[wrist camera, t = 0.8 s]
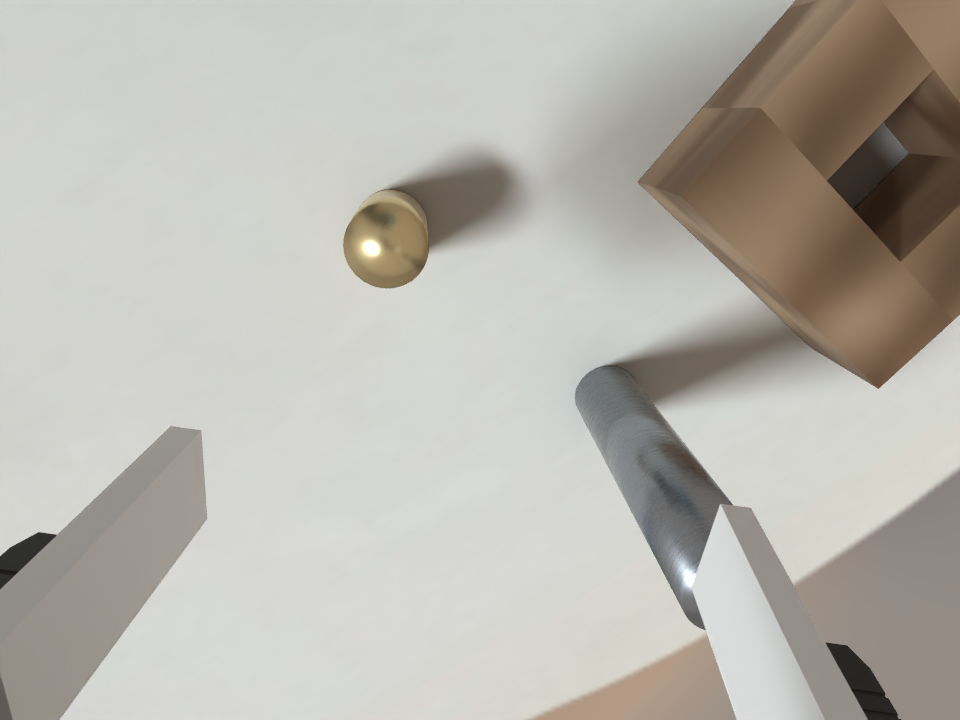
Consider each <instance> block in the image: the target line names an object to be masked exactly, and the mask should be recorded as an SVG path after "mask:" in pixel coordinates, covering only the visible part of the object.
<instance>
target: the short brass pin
mask: <svg viewBox="0 0 960 720" xmlns="http://www.w3.org/2000/svg"><path fill="white" fill-rule="evenodd" d="M343 247H344V254H345V258H346V260H347V263H348V265H349V267H350V268H351V269H352V271H353V272H354V273H355V274H356V275H357V276H358V277H359V278H360V279H361V280H363V281H364V282H366V283H368V284H370V285H373V286H375V287H380V288H395V287H400V286H403V285H405V284H407V283H409V282H410V281H412V280H413V279H414V278H416V277H417V276H418V275H419V273H420V272H421V271H422V269H423V267H424V266H425V263H426V261H427V257H428V251H429V245H428V226H427V219H426V215H425V213H424V211H423V209H422V207H421V206H420V204H419V203H418V202H417V201H416V200H415V199H414V198H413V197H411V196H410V195H408V194H406V193H404V192H401V191H397V190H383V191H379V192H376V193H374V194H372V195H371V196H369V197H368V198H367V199H366V200H365V201H364V202H363V203H362V205H361V206H360V208H359V209H358V211H357V212H356V214H355V215H354V217H353V218H352V220H351V222H350V223H349V225H348V227H347V229H346V232H345V235H344V243H343Z"/></svg>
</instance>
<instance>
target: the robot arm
mask: <svg viewBox="0 0 960 720" xmlns="http://www.w3.org/2000/svg"><path fill="white" fill-rule="evenodd" d="M206 520H207V510H206V495H205V480H204V465H203V450H202V435H201V430H194V429H187V428H180V427H173V426H171V427H170V428H169V429H168V430H167V431H166V432H164V433H163V434H162V435H161V436H160V437H159V438H158V439H157V440H156V441H155V442H154V443H153V444H152V445H151V446H150V447H149V448H148V449H147V450H146V451H145V452H144V453H143V454H141V455H140V456H139V457H138V458H137V459H136V460H135V461H134V462H133V463H132V464H131V465H130V466H129V467H128V468H127V469H126V470H125V471H124V472H123V473H122V474H121V475H120V476H118V477H117V478H116V479H115V480H114V481H113V482H112V483H111V484H110V485H109V486H108V487H107V488H106V489H105V490H104V491H103V492H102V493H101V494H100V495H99V496H98V497H96V498H95V499H94V500H93V501H92V502H91V503H90V504H89V505H88V506H87V507H86V508H85V509H84V510H83V511H82V512H81V513H80V514H79V515H78V516H77V517H76V518H75V519H73V520H72V521H71V522H70V523H69V524H68V525H67V526H66V527H65V528H64V529H63V530H62V531H61V532H60V533H59V534H58V535H54V534H47V533H40V532H38V533H36V534H35V535H33V536H31V537H29V538H27V539H25V540H23V541H22V542H20V543H18V544H16V545H14V546H12V547H10V548H9V549H8V550H7V551H6V552H5V553H3V554H2V555H1V556H0V720H60V718H61V717H62V715H63V714H64V713H65V711H66V710H67V709H68V707H69V706H70V705H71V703H72V702H73V700H74V699H75V698H76V696H77V695H78V694H79V692H80V691H81V690H82V688H83V687H84V686H85V684H86V683H87V681H88V680H89V679H90V677H91V676H92V675H93V673H94V672H95V671H96V669H97V668H98V666H99V665H100V664H101V662H102V661H103V660H104V658H105V657H106V656H107V654H108V653H109V651H110V650H111V649H112V647H113V646H114V645H115V643H116V642H117V641H118V639H119V638H120V637H121V635H122V634H123V632H124V631H125V630H126V628H127V627H128V626H129V624H130V623H131V622H132V620H133V619H134V617H135V616H136V615H137V613H138V612H139V611H140V609H141V608H142V607H143V605H144V604H145V603H146V601H147V600H148V598H149V597H150V596H151V594H152V593H153V592H154V590H155V589H156V588H157V586H158V585H159V583H160V582H161V581H162V579H163V578H164V577H165V575H166V574H167V573H168V571H169V570H170V568H171V567H172V566H173V564H174V563H175V562H176V560H177V559H178V558H179V556H180V555H181V554H182V552H183V551H184V549H185V548H186V547H187V545H188V544H189V543H190V541H191V540H192V539H193V537H194V536H195V534H196V533H197V532H198V530H199V529H200V528H201V526H202V525H203V524H204V522H205V521H206ZM691 588H692V591H693V594H694V597H695V600H696V603H697V606H698V609H699V611H700V614H701V617H702V620H703V623H704V626H705V629H706V632H707V635H708V638H709V640H710V643H711V646H712V649H713V652H714V655H715V658H716V661H717V664H718V666H719V669H720V672H721V675H722V678H723V681H724V684H725V687H726V690H727V692H728V695H729V698H730V701H731V704H732V707H733V710H734V713H735V716H736V719H737V720H901V719H898V717H897V715H898V714H897V712H896V710H895V709H894V707H893V706H892V704H891V702H890V700H889V699H888V698H886V697H885V692H884V691H883V689H882V687H881V686H880V684H879V682H878V681H877V679H876V677H875V676H874V674H873V673H872V671H871V669H870V668H869V667H868V666H867V665H866V664H865V663H864V662H863V661H862V660H861V659H860V658H859V657H858V656H857V655H856V654H855V653H854V652H853V651H852V650H851V649H850V648H849V647H848V646H846V645H839V644H831V643H825V641H824V640H823V638H822V636H821V634H820V632H819V631H818V629H817V627H816V625H815V623H814V622H813V620H812V618H811V616H810V614H809V613H808V611H807V609H806V607H805V605H804V604H803V602H802V600H801V598H800V596H799V594H798V593H797V591H796V589H795V587H794V585H793V584H792V582H791V580H790V578H789V576H788V575H787V573H786V571H785V569H784V567H783V565H782V564H781V562H780V560H779V558H778V556H777V555H776V553H775V551H774V549H773V547H772V546H771V544H770V542H769V540H768V538H767V537H766V535H765V533H764V531H763V529H762V528H761V526H760V524H759V522H758V520H757V518H756V517H755V515H754V513H753V511H752V509H751V508H747V507H740V506H733V505H726V504H720V506H719V509H718V512H717V515H716V518H715V520H714V523H713V526H712V529H711V532H710V535H709V538H708V541H707V543H706V546H705V549H704V552H703V555H702V558H701V561H700V564H699V566H698V569H697V572H696V575H695V578H694V581H693V584H692V587H691Z"/></svg>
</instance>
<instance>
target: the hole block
mask: <svg viewBox="0 0 960 720" xmlns="http://www.w3.org/2000/svg"><path fill="white" fill-rule="evenodd" d="M883 122H884V123H885V125H886V126H887V127H888V128H889V129H890V131H891V132H892V133H893V134H894V135H895V137H896V138H897V139H898V140H899V141H900V143H901V144H902V145H903V146H904V147H905V149H906V150H907V151H908V152H909V154H908V155H907V156H906V157H905V158H904V159H903V160H902V161H901V162H900V163H899V164H898V165H897V167H896V168H895V169H894V170H893V171H892V172H891V173H890V174H889V175H888V176H887V177H886V178H885V179H884V180H883V181H882V182H881V183H880V184H879V185H878V186H877V187H876V188H875V189H874V190H873V191H872V192H871V193H870V194H869V195H868V196H867V197H866V198H865V199H864V200H863V201H862V202H861V203H860V204H859V205H858V206H857V207H856V208H855V209H854V210H853V209H852V208H851V207H850V206H849V205H848V204H847V203H846V201H845V200H844V199H843V198H842V197H841V196H840V195H839V194H838V193H837V192H836V190H835V189H834V188H833V187H832V186H831V185H830V184H829V183H828V182H827V180H828V179H829V178H830V177H831V176H832V175H833V174H834V173H835V172H836V171H837V170H838V169H839V168H840V167H841V166H842V164H843V163H844V162H845V161H846V160H847V159H848V158H849V157H850V156H851V155H852V154H853V153H854V152H855V151H856V150H857V149H858V148H859V147H860V146H861V145H862V144H863V143H864V142H865V141H866V140H867V138H868V137H869V136H870V135H871V134H872V133H873V132H874V131H875V130H876V129H877V128H878V127H879V126H880V125H881V124H882V123H883ZM638 183H639V184H640V185H641V186H642V187H643V188H644V189H645V190H647V191H648V192H649V193H650V194H651V195H652V196H653V197H654V198H655V199H656V200H657V201H658V202H659V203H660V204H661V205H662V206H663V207H664V208H665V209H666V210H667V211H669V212H670V213H671V214H672V215H673V216H674V217H675V218H676V219H677V220H678V221H679V222H680V223H681V224H682V225H683V226H684V227H685V228H686V229H687V230H688V231H690V232H691V233H692V234H693V235H694V236H695V237H696V238H697V239H698V240H699V241H700V242H701V243H702V244H703V245H704V246H705V247H706V248H707V249H708V250H709V251H710V252H712V253H713V254H714V255H715V256H716V257H717V258H718V259H719V260H720V261H721V262H722V263H723V264H724V265H725V266H726V267H727V268H728V269H729V270H730V271H731V272H733V273H734V274H735V275H736V276H737V277H738V278H739V279H740V280H741V281H742V282H743V283H744V284H745V285H746V286H747V287H748V288H749V289H750V290H751V291H752V292H753V293H755V294H756V295H757V296H758V297H759V298H760V299H761V300H762V301H763V302H764V303H765V304H766V305H767V306H768V307H769V308H770V309H771V310H772V311H773V312H774V313H776V314H777V315H778V316H779V317H780V318H781V319H782V320H783V321H784V322H785V323H786V324H787V325H788V326H789V327H790V328H791V329H792V330H793V331H794V332H795V333H796V334H798V335H799V336H800V337H801V338H802V339H803V340H804V341H805V342H806V343H807V344H808V345H809V346H810V347H811V348H812V349H814V350H816V351H817V352H819V353H821V354H822V355H824V356H826V357H827V358H829V359H831V360H832V361H834V362H835V363H837V364H839V365H840V366H842V367H844V368H845V369H847V370H849V371H850V372H852V373H853V374H855V375H857V376H858V377H860V378H862V379H863V380H865V381H867V382H868V383H870V384H871V385H873V386H875V387H876V388H878V389H879V388H880V387H881V386H882V385H883V384H884V383H885V382H886V381H888V380H889V379H890V378H891V377H892V376H893V375H894V374H895V373H896V372H897V371H898V370H900V369H901V368H902V367H903V366H904V365H905V364H906V363H907V362H908V361H909V360H911V359H912V358H913V357H914V356H915V355H916V354H917V353H918V352H919V351H920V350H921V349H923V348H924V347H925V346H926V345H927V344H928V343H929V342H930V341H931V340H932V339H934V338H935V337H936V336H937V335H938V334H939V333H940V332H941V331H942V330H943V329H945V328H946V327H947V326H948V325H949V324H950V323H951V322H952V321H953V320H954V319H955V318H957V317H958V316H959V315H960V0H796V1H795V2H794V3H793V4H792V5H791V7H790V8H789V9H788V10H787V11H786V12H785V13H784V15H783V16H782V17H781V18H780V19H779V20H778V22H777V23H776V24H775V25H774V26H773V27H772V28H771V30H770V31H769V32H768V33H767V34H766V35H765V36H764V38H763V39H762V40H761V41H760V42H759V43H758V44H757V46H756V47H755V48H754V49H753V50H752V51H751V52H750V54H749V55H748V56H747V57H746V58H745V59H744V61H743V62H742V63H741V64H740V65H739V66H738V67H737V69H736V70H735V71H734V72H733V73H732V74H731V75H730V77H729V78H728V79H727V80H726V81H725V82H724V83H723V85H722V86H721V87H720V88H719V89H718V90H717V91H716V93H715V94H714V95H713V96H712V97H711V98H710V100H709V101H708V102H707V103H706V104H705V105H704V106H703V108H702V109H701V110H700V111H699V112H698V113H697V114H696V116H695V117H694V118H693V119H692V120H691V121H690V122H689V124H688V125H687V126H686V127H685V128H684V129H683V130H682V132H681V133H680V134H679V135H678V136H677V137H676V139H675V140H674V141H673V142H672V143H671V144H670V145H669V147H668V148H667V149H666V150H665V151H664V152H663V153H662V155H661V156H660V157H659V158H658V159H657V160H656V161H655V163H654V164H653V165H652V166H651V167H650V168H649V169H648V171H647V172H646V173H645V174H644V175H643V176H642V178H641V179H640V180H639V181H638Z"/></svg>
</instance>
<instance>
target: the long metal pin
mask: <svg viewBox="0 0 960 720" xmlns="http://www.w3.org/2000/svg"><path fill="white" fill-rule="evenodd" d="M575 402H576V406H577V408H578V410H579V412H580V414H581V416H582V418H583V420H584V422H585V424H586V425H587V427H588V429H589V431H590V433H591V435H592V437H593V439H594V441H595V443H596V445H597V446H598V448H599V450H600V452H601V454H602V456H603V458H604V460H605V462H606V464H607V466H608V468H609V469H610V471H611V473H612V475H613V477H614V479H615V481H616V483H617V485H618V487H619V489H620V491H621V492H622V494H623V496H624V498H625V500H626V502H627V504H628V506H629V508H630V510H631V512H632V513H633V515H634V517H635V519H636V521H637V523H638V525H639V527H640V529H641V531H642V533H643V535H644V536H645V538H646V540H647V542H648V544H649V546H650V548H651V550H652V552H653V554H654V556H655V557H656V559H657V561H658V563H659V565H660V567H661V569H662V571H663V573H664V575H665V577H666V579H667V580H668V582H669V584H670V586H671V588H672V590H673V592H674V594H675V596H676V598H677V600H678V602H679V603H680V605H681V607H682V609H683V611H684V613H685V615H686V616H687V618H688V619H689V620H690V621H691V622H692V623H693V624H694V625H696V626H697V627H699V628H701V629H704V630H706V629H705V626H704V623H703V620H702V617H701V614H700V611H699V609H698V606H697V603H696V600H695V597H694V594H693V591H692V588H691V587H692V584H693V581H694V578H695V575H696V572H697V569H698V566H699V564H700V561H701V558H702V555H703V552H704V549H705V546H706V543H707V541H708V538H709V535H710V532H711V529H712V526H713V523H714V520H715V518H716V515H717V512H718V509H719V506H720V504H726V505H733V504H732V503H731V502H730V501H729V499H728V498H727V497H726V496H725V494H724V493H723V492H722V490H721V489H720V488H719V487H718V485H717V484H716V483H715V482H714V480H713V479H712V478H711V476H710V475H709V474H708V473H707V471H706V470H705V469H704V468H703V466H702V465H701V464H700V463H699V461H698V460H697V459H696V457H695V456H694V455H693V454H692V452H691V451H690V450H689V449H688V447H687V446H686V445H685V443H684V442H683V441H682V440H681V438H680V437H679V436H678V435H677V433H676V432H675V431H674V430H673V428H672V427H671V426H670V424H669V423H668V422H667V421H666V419H665V418H664V417H663V416H662V414H661V413H660V412H659V410H658V409H657V408H656V407H655V405H654V404H653V403H652V402H651V400H650V399H649V398H648V397H647V395H646V394H645V393H644V391H643V390H642V389H641V388H640V386H639V385H638V384H637V383H636V381H635V380H634V379H633V378H632V376H631V375H630V374H629V373H628V372H627V371H625V370H623V369H621V368H619V367H615V366H604V367H600V368H597V369H594V370H593V371H591V372H589V373H588V374H587V375H586V376H584V378H583V379H582V380H581V381H580V383H579V385H578V387H577V389H576V394H575Z"/></svg>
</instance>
